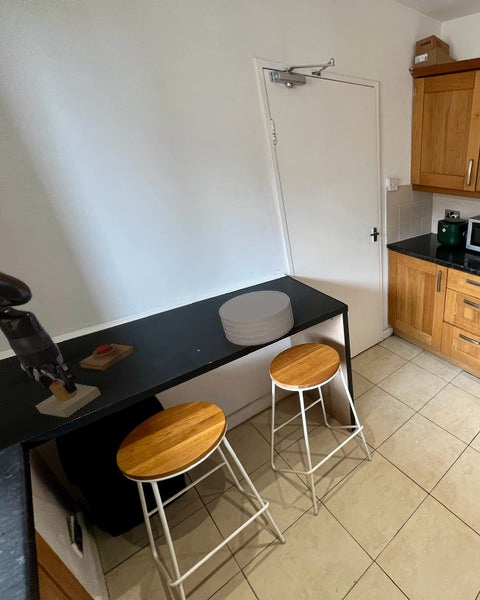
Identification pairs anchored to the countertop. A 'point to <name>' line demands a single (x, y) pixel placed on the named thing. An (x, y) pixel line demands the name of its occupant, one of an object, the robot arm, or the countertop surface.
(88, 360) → the button block
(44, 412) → the panel
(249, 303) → the plate stack
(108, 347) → the button
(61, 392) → the lock knob
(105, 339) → the countertop surface
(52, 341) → the robot arm
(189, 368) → the countertop surface
